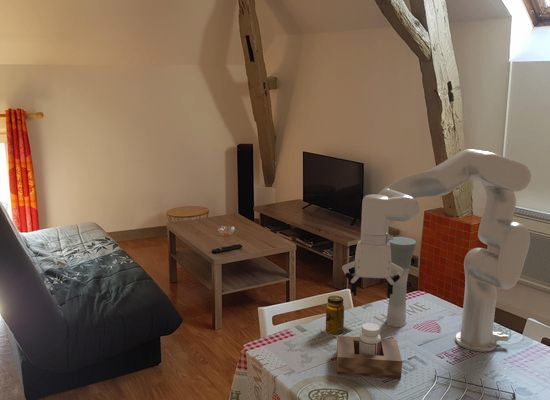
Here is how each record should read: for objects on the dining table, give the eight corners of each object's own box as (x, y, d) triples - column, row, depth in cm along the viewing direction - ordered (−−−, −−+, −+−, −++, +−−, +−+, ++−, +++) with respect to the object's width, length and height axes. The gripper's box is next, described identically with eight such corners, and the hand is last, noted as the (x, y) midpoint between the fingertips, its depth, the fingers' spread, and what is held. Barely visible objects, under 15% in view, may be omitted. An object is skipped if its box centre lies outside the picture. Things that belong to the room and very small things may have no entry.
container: (378, 323, 181) (382, 241, 175) (388, 314, 189) (393, 235, 182) (404, 331, 176) (409, 246, 170) (413, 321, 183) (419, 239, 177)
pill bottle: (371, 354, 158) (373, 320, 155) (383, 364, 152) (385, 329, 150) (354, 359, 155) (356, 324, 153) (366, 369, 150) (368, 333, 147)
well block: (395, 355, 159) (396, 339, 158) (400, 378, 147) (402, 361, 145) (336, 352, 161) (337, 335, 160) (337, 374, 149) (337, 356, 147)
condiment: (320, 330, 176) (321, 297, 173) (336, 323, 181) (337, 291, 179) (336, 338, 170) (337, 304, 168) (352, 330, 176) (354, 297, 173)
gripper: (403, 235, 148) (400, 291, 152) (343, 233, 150) (341, 289, 154) (407, 243, 141) (403, 302, 145) (343, 241, 143) (341, 299, 147)
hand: (371, 295), depth 149 cm, fingers open, 9 cm apart
